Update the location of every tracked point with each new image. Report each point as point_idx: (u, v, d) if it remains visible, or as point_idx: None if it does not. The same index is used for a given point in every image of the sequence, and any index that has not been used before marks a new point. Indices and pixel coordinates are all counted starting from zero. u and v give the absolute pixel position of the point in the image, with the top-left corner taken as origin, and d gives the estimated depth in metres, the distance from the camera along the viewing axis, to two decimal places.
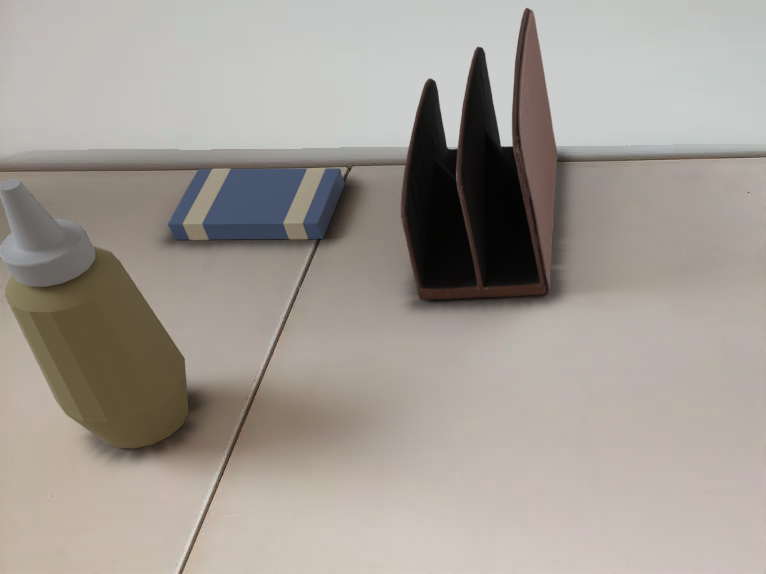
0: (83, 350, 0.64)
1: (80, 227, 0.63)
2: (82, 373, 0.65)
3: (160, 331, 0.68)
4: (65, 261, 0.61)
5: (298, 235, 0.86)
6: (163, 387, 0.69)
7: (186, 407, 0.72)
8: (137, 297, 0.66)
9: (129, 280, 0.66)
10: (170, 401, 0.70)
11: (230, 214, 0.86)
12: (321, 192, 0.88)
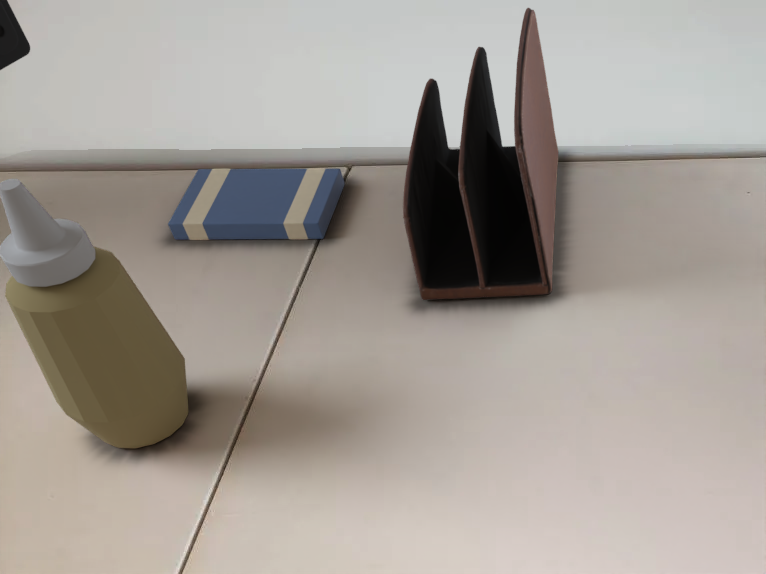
0: (83, 350, 0.64)
1: (80, 227, 0.63)
2: (82, 373, 0.65)
3: (160, 331, 0.68)
4: (65, 261, 0.61)
5: (298, 235, 0.86)
6: (163, 387, 0.69)
7: (186, 407, 0.72)
8: (137, 297, 0.66)
9: (129, 280, 0.66)
10: (170, 401, 0.70)
11: (230, 214, 0.86)
12: (321, 192, 0.88)
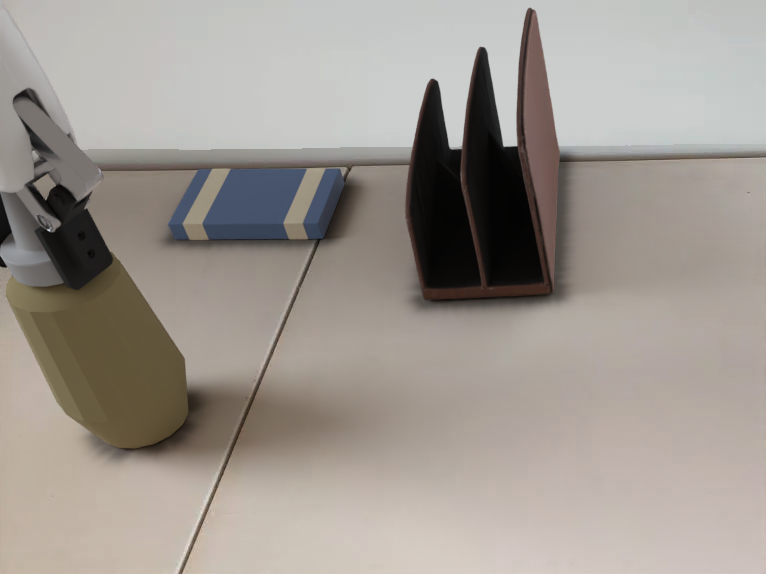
0: (84, 350, 0.64)
1: None
2: (82, 373, 0.65)
3: (160, 331, 0.68)
4: None
5: (298, 235, 0.86)
6: (163, 387, 0.69)
7: (186, 407, 0.72)
8: (137, 297, 0.66)
9: (129, 280, 0.66)
10: (171, 401, 0.70)
11: (230, 214, 0.86)
12: (321, 192, 0.88)
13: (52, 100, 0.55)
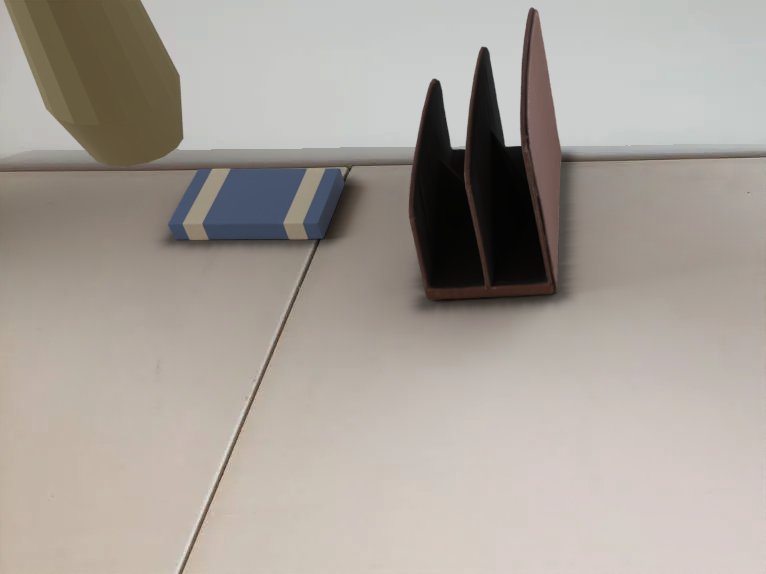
0: (73, 32, 0.61)
1: None
2: (71, 61, 0.62)
3: (154, 33, 0.66)
4: None
5: (298, 235, 0.86)
6: (157, 93, 0.66)
7: (181, 130, 0.70)
8: None
9: None
10: (164, 112, 0.67)
11: (230, 214, 0.86)
12: (321, 192, 0.88)
13: None
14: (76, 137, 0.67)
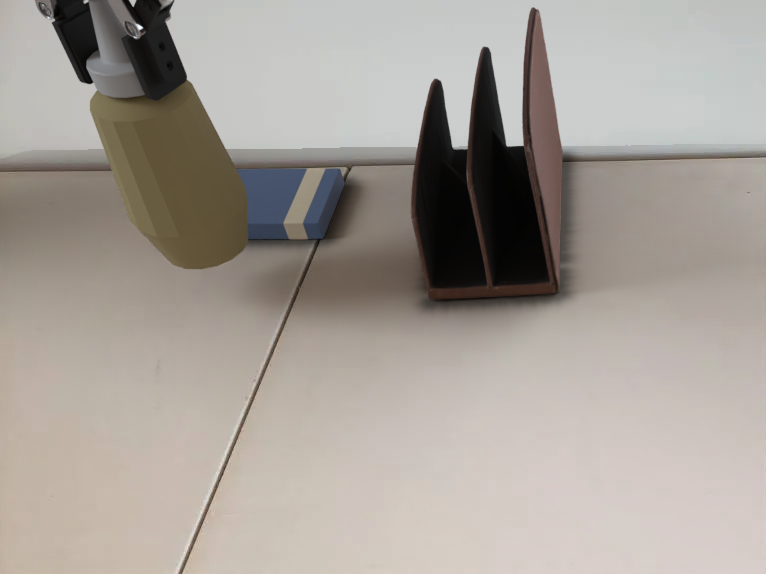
0: (160, 162, 0.70)
1: None
2: (157, 185, 0.71)
3: (226, 155, 0.74)
4: None
5: (298, 235, 0.86)
6: (228, 207, 0.75)
7: (246, 234, 0.79)
8: (206, 118, 0.72)
9: (200, 102, 0.72)
10: (234, 223, 0.76)
11: None
12: (321, 192, 0.88)
13: None
14: (157, 246, 0.75)
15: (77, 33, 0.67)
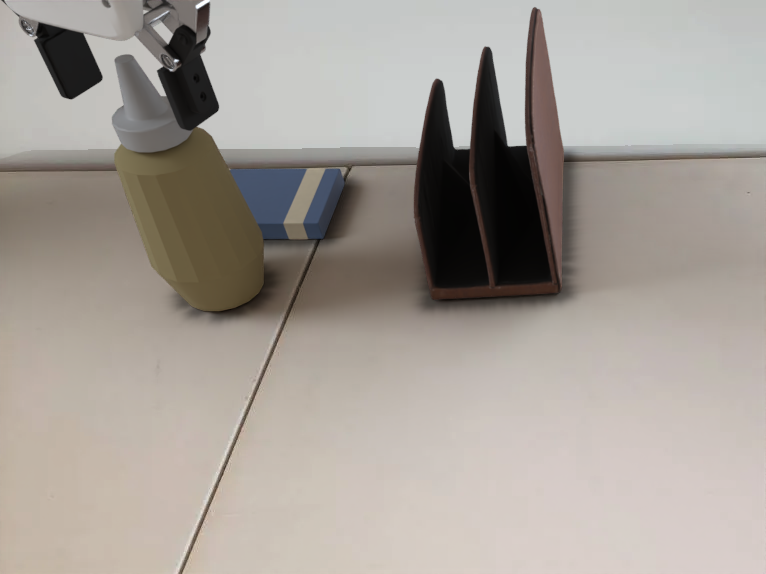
0: (181, 212, 0.73)
1: None
2: (178, 234, 0.74)
3: (243, 203, 0.77)
4: (169, 129, 0.70)
5: (298, 235, 0.86)
6: (246, 253, 0.78)
7: (262, 277, 0.81)
8: (225, 169, 0.75)
9: (219, 154, 0.75)
10: (251, 267, 0.79)
11: None
12: (321, 192, 0.88)
13: None
14: (177, 289, 0.78)
15: (59, 50, 0.69)
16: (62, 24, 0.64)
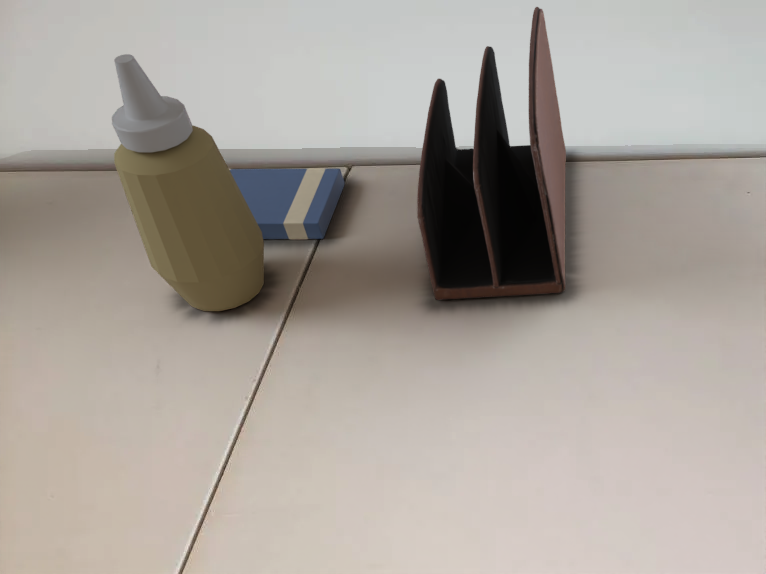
0: (181, 212, 0.73)
1: (180, 102, 0.72)
2: (178, 234, 0.74)
3: (243, 203, 0.77)
4: (169, 129, 0.70)
5: (298, 235, 0.86)
6: (246, 253, 0.78)
7: (262, 277, 0.81)
8: (225, 169, 0.75)
9: (219, 154, 0.75)
10: (251, 267, 0.79)
11: None
12: (321, 192, 0.88)
13: None
14: (177, 289, 0.78)
15: None
16: None
